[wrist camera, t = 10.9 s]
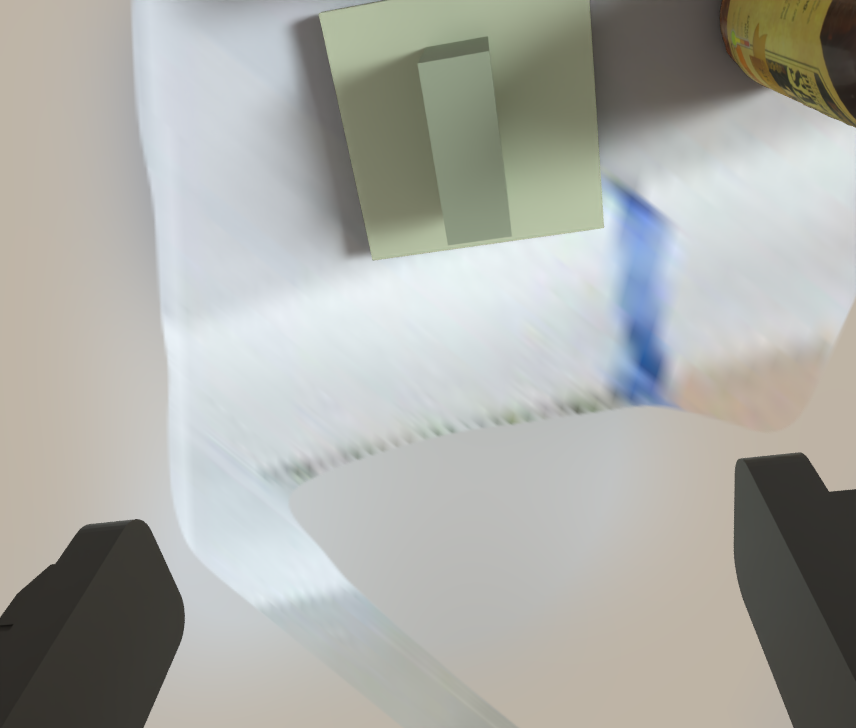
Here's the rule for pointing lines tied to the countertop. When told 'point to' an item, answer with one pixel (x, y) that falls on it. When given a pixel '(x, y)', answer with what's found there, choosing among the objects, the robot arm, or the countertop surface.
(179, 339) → the countertop surface
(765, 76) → the sauce bottle
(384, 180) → the lid
